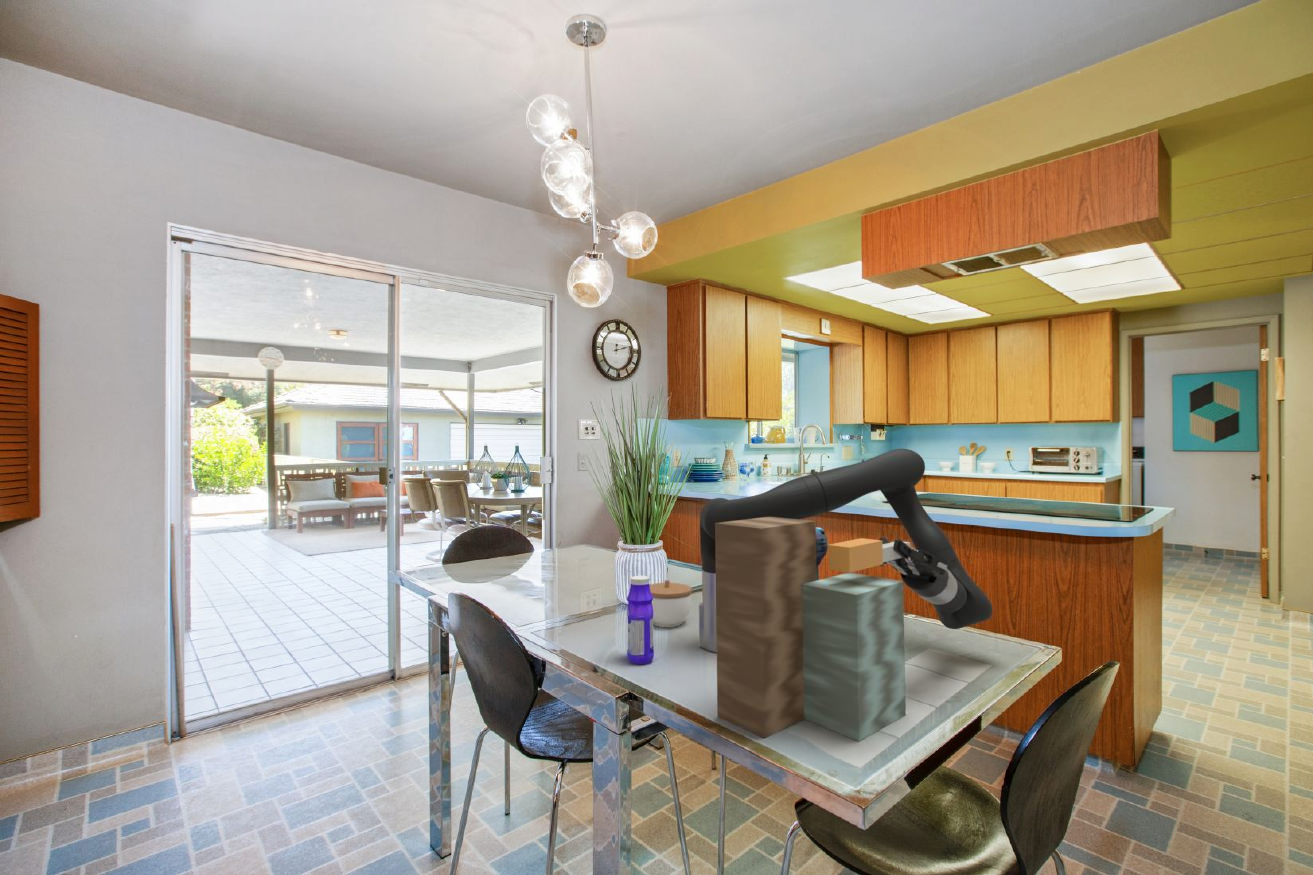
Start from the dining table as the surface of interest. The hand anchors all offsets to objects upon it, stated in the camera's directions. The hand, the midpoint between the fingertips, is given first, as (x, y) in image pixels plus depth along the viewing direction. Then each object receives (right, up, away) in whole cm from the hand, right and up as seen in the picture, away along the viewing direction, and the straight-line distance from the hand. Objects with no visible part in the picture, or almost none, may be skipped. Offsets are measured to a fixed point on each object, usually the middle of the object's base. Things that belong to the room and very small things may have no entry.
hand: (888, 543), depth 106 cm
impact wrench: (-2, -29, +46) cm, 54 cm away
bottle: (-45, -28, +20) cm, 57 cm away
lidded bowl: (-39, -29, +47) cm, 67 cm away
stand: (-16, -27, -7) cm, 32 cm away
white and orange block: (-4, -3, -4) cm, 6 cm away
